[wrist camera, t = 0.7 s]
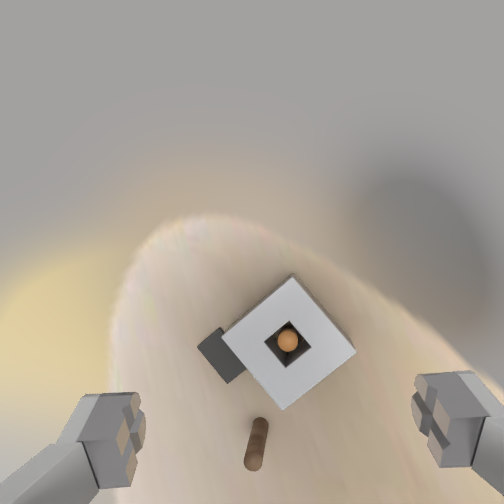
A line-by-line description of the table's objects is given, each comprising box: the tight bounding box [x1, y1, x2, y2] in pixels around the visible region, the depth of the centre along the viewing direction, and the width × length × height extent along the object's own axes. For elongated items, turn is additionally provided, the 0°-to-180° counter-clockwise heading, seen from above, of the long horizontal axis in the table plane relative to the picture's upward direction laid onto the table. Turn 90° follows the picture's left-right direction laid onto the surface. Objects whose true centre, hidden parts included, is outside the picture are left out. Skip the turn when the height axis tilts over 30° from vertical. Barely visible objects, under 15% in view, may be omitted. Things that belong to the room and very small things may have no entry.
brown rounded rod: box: [244, 418, 268, 471], centre depth 54 cm, size 3×3×10 cm
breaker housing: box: [221, 273, 357, 411], centre depth 54 cm, size 14×14×7 cm
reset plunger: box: [278, 328, 298, 352], centre depth 54 cm, size 3×3×2 cm
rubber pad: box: [197, 328, 246, 384], centre depth 59 cm, size 8×5×1 cm, turn 41°
